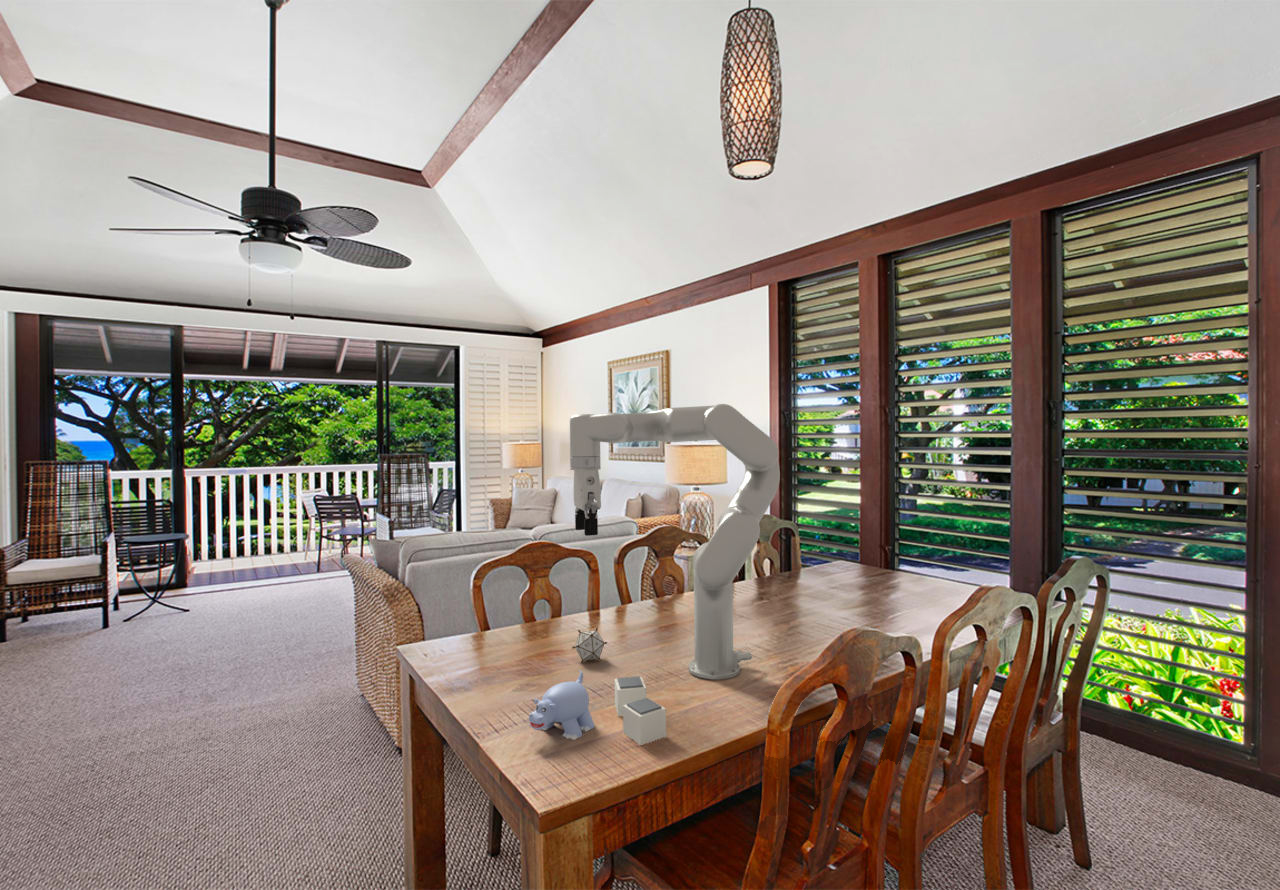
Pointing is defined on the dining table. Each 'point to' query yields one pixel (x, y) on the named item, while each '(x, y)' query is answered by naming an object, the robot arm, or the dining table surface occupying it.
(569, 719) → the hippopotamus toy
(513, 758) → the dining table surface
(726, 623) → the robot arm
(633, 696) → the block three
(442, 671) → the dining table surface
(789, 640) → the dining table surface
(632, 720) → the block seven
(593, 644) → the game die
